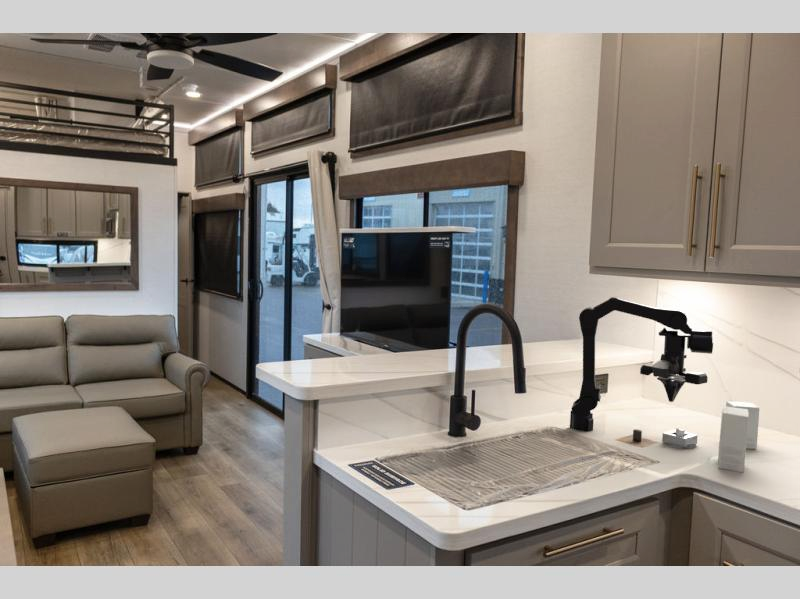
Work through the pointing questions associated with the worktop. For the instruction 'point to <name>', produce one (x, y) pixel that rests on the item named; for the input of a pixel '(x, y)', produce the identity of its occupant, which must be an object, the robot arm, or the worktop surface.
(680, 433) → the hub
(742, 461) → the skincare box
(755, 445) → the supplement box
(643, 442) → the stand
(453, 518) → the worktop surface
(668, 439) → the collar
